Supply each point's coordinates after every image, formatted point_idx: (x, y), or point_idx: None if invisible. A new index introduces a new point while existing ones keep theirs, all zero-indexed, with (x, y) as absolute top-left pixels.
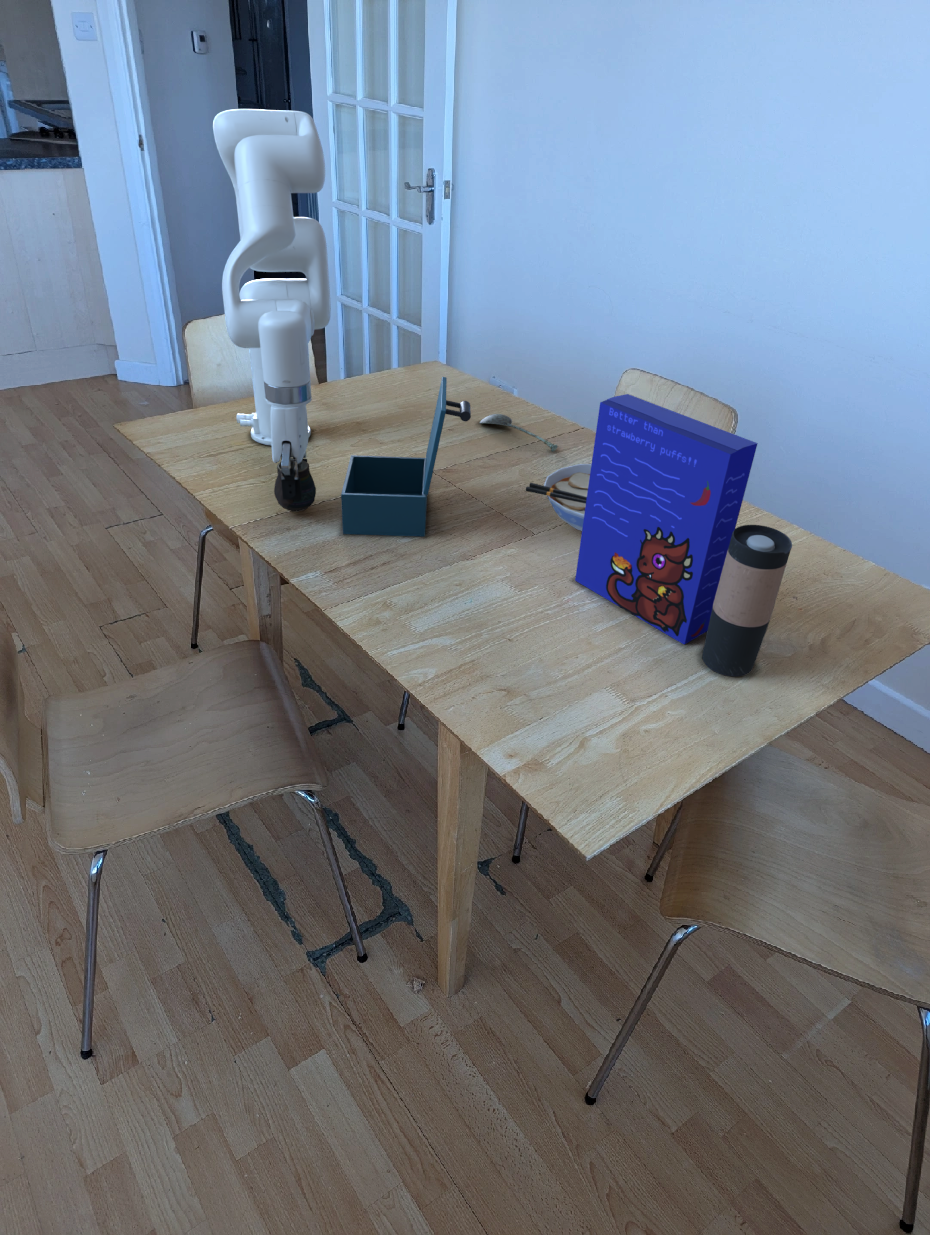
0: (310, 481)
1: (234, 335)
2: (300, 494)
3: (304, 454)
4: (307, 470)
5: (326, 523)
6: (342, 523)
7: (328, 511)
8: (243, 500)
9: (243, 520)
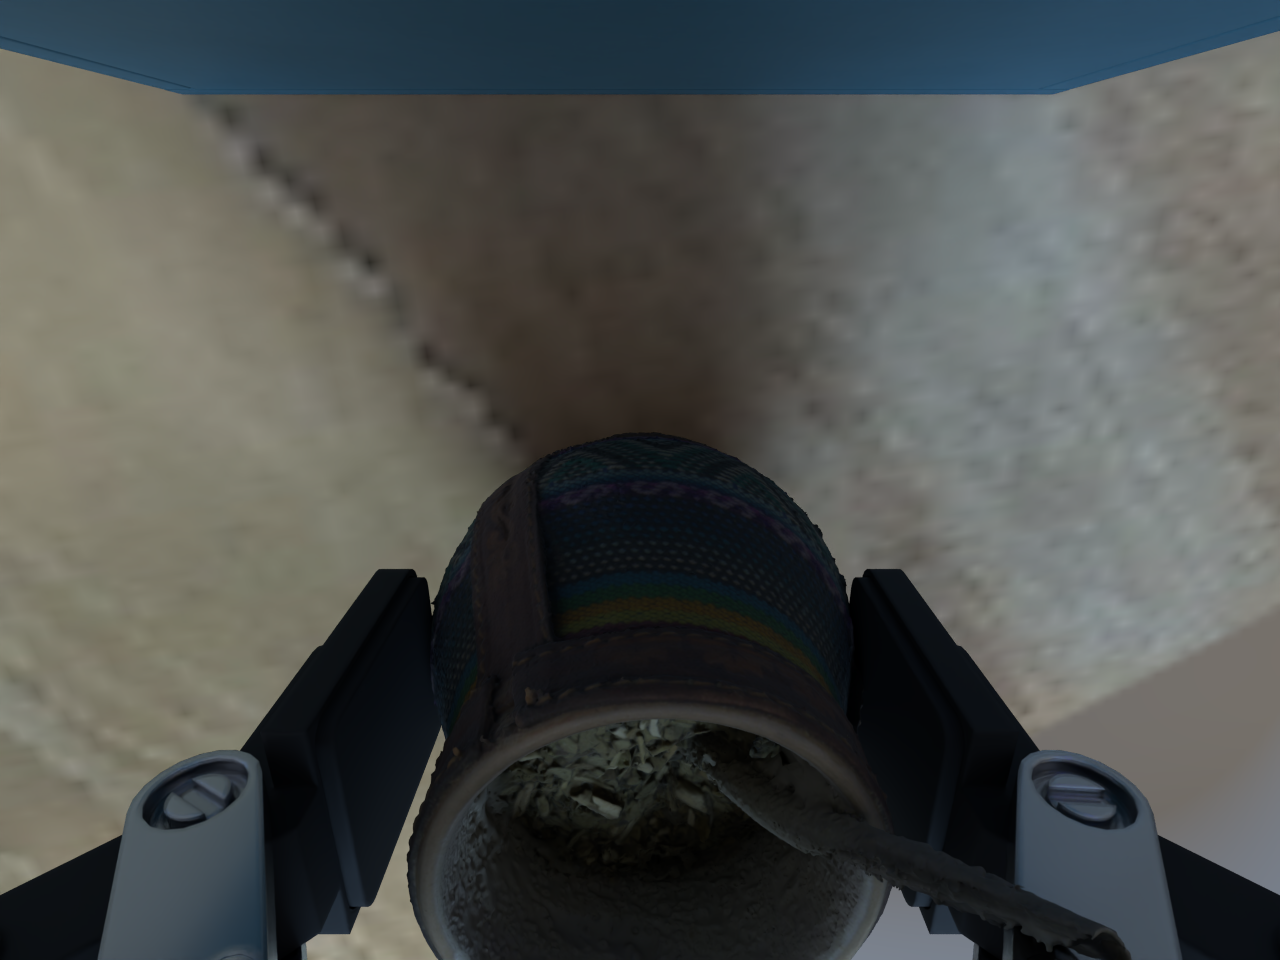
0: (694, 550)
1: None
2: (919, 600)
3: (262, 831)
4: (736, 676)
5: (832, 279)
6: (1125, 73)
7: (608, 290)
8: None
9: None
